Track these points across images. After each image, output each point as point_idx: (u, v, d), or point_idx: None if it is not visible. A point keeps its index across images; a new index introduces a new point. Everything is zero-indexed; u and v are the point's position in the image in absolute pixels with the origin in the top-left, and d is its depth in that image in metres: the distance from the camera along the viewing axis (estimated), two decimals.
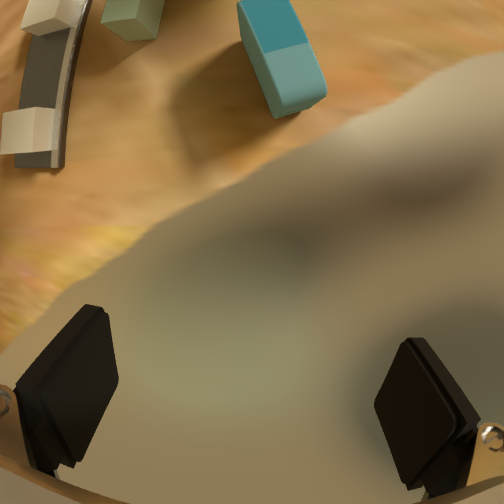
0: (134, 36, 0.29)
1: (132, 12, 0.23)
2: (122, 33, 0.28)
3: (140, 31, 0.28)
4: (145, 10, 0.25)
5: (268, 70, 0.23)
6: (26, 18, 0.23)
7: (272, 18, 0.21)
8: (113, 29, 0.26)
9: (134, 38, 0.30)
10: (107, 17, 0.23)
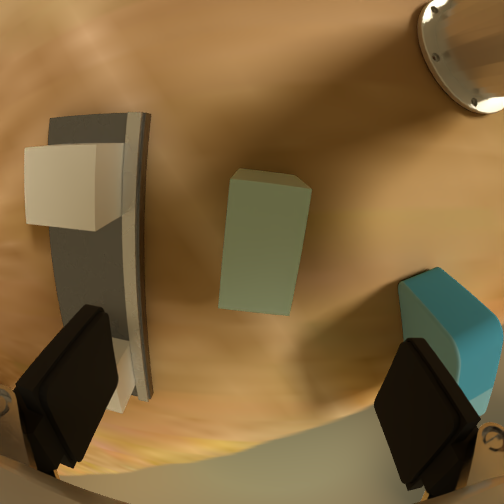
0: None
1: (282, 304, 0.19)
2: None
3: None
4: None
5: None
6: (32, 204, 0.19)
7: (479, 372, 0.16)
8: None
9: None
10: (231, 300, 0.19)
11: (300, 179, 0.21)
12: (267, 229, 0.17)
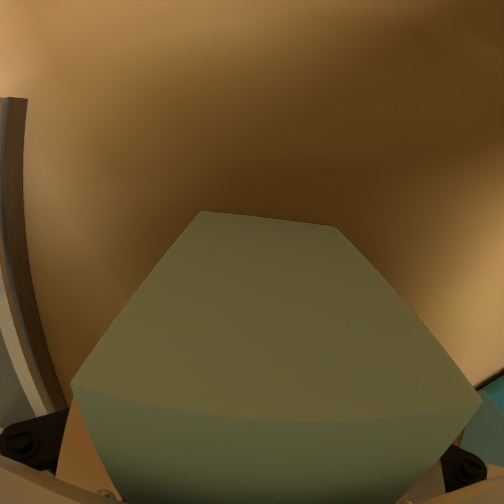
0: None
1: None
2: None
3: None
4: None
5: None
6: None
7: None
8: None
9: None
10: None
11: None
12: None
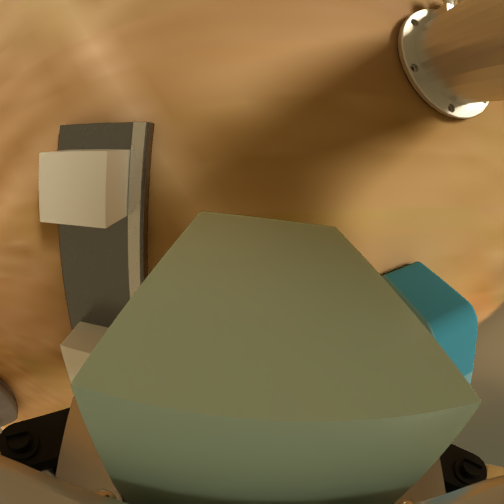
0: None
1: None
2: None
3: None
4: None
5: None
6: (46, 204, 0.21)
7: (456, 355, 0.19)
8: None
9: None
10: None
11: (366, 260, 0.07)
12: None
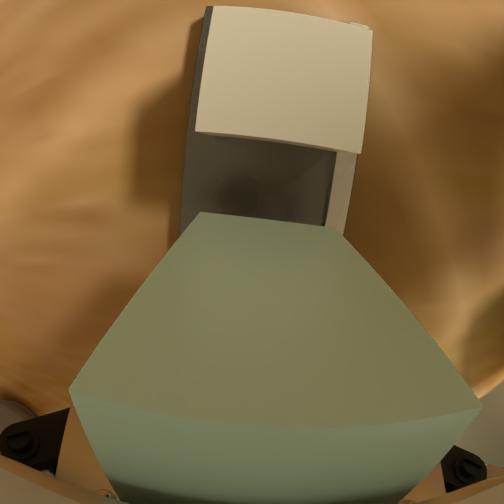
0: None
1: None
2: None
3: None
4: None
5: None
6: (219, 95, 0.11)
7: None
8: None
9: None
10: None
11: (367, 262, 0.07)
12: None
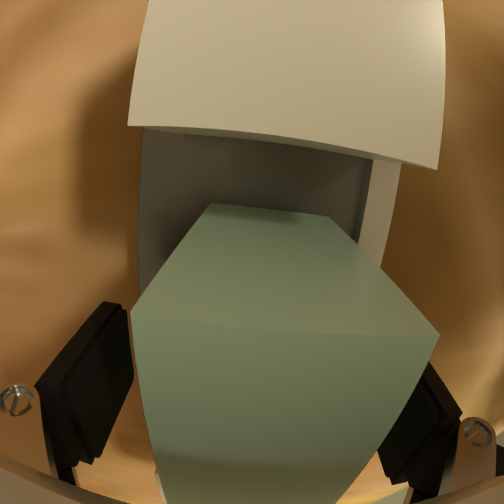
0: None
1: None
2: None
3: None
4: None
5: None
6: (173, 55, 0.05)
7: None
8: None
9: None
10: None
11: (353, 241, 0.08)
12: (277, 445, 0.05)
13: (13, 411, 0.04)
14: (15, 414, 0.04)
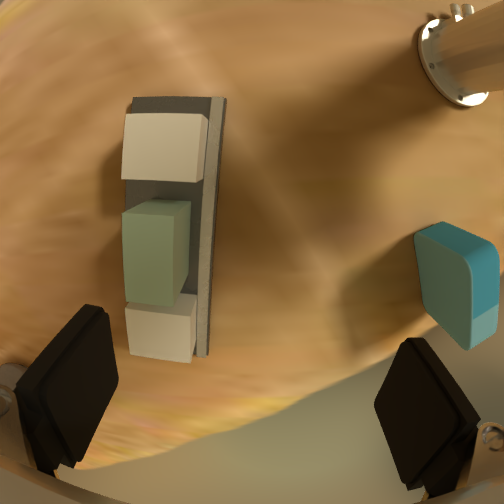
0: None
1: (167, 298, 0.26)
2: None
3: None
4: (178, 275, 0.27)
5: (470, 331, 0.25)
6: (130, 161, 0.25)
7: (486, 285, 0.23)
8: None
9: None
10: (133, 296, 0.25)
11: (185, 206, 0.28)
12: (148, 245, 0.24)
13: None
14: None
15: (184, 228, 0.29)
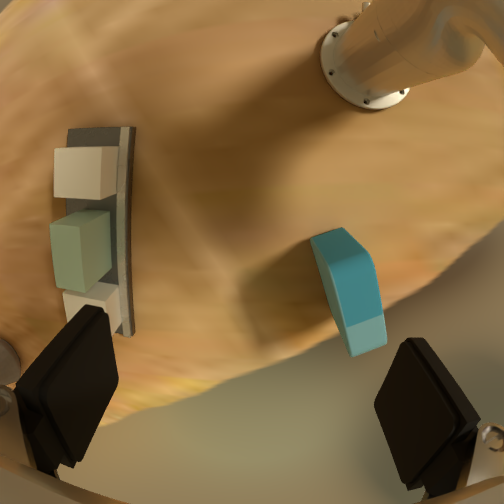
0: None
1: (80, 286, 0.31)
2: None
3: None
4: (92, 269, 0.33)
5: (347, 339, 0.30)
6: (58, 184, 0.31)
7: (358, 295, 0.28)
8: None
9: None
10: (60, 283, 0.31)
11: (99, 216, 0.34)
12: (66, 247, 0.30)
13: None
14: None
15: (99, 233, 0.34)
